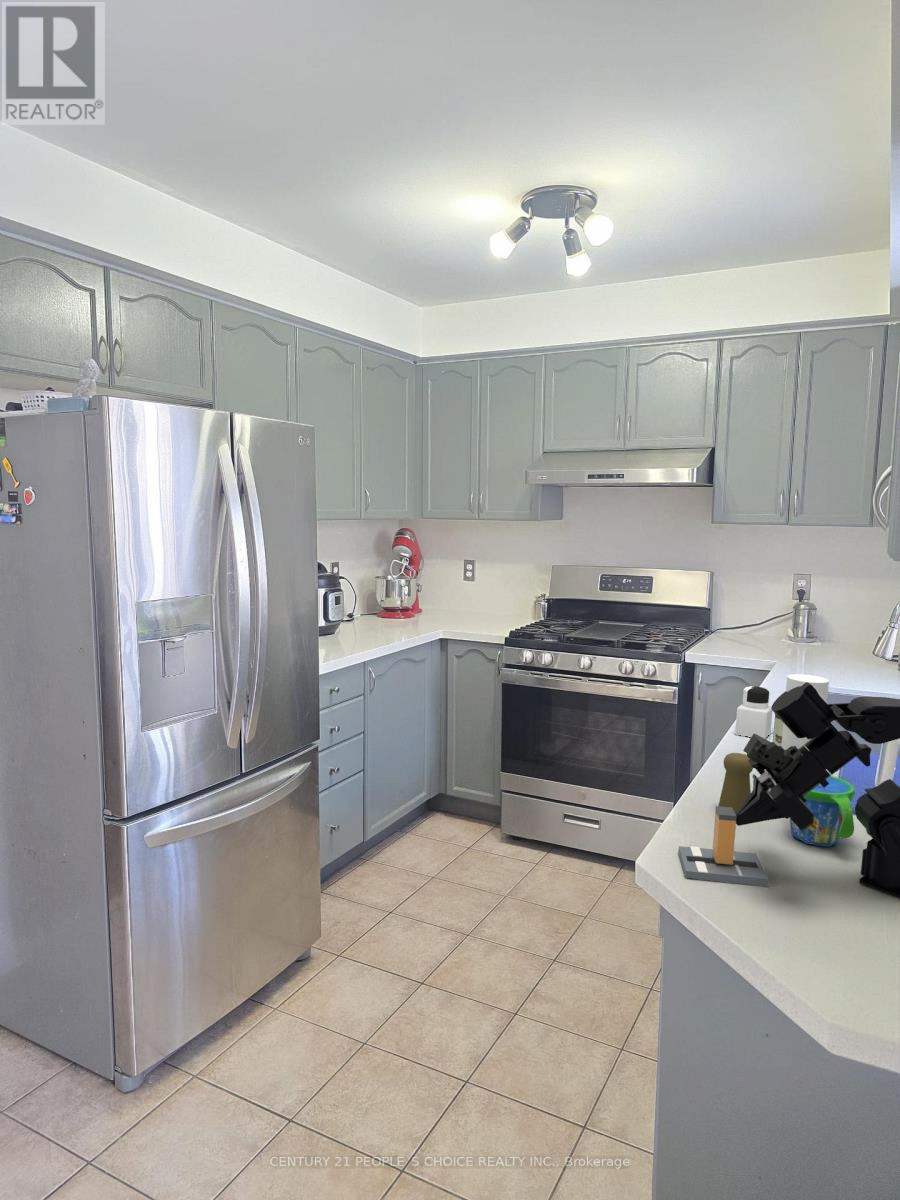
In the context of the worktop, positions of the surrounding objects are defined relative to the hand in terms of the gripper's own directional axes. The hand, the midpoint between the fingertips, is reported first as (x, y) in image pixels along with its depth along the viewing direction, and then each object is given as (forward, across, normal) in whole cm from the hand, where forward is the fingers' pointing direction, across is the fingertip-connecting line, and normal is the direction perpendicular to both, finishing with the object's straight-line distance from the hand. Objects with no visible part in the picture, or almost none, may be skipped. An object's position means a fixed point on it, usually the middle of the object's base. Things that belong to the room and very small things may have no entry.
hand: (735, 822), depth 124 cm
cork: (+2, -25, +9) cm, 27 cm away
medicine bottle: (-8, -80, +19) cm, 83 cm away
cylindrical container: (-7, -31, +18) cm, 36 cm away
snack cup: (-6, -16, +17) cm, 24 cm away
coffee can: (-10, -48, +21) cm, 53 cm away
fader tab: (+6, 0, +4) cm, 8 cm away
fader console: (+7, 0, +4) cm, 8 cm away
